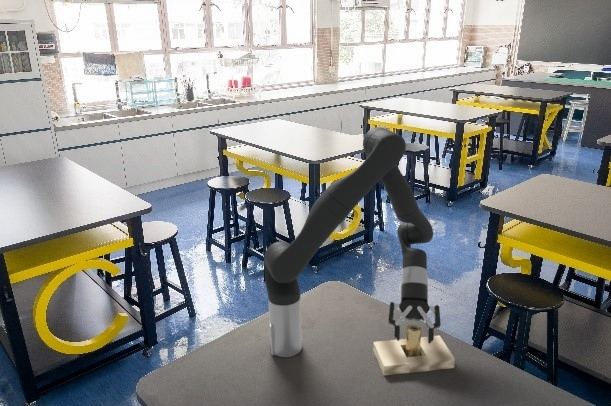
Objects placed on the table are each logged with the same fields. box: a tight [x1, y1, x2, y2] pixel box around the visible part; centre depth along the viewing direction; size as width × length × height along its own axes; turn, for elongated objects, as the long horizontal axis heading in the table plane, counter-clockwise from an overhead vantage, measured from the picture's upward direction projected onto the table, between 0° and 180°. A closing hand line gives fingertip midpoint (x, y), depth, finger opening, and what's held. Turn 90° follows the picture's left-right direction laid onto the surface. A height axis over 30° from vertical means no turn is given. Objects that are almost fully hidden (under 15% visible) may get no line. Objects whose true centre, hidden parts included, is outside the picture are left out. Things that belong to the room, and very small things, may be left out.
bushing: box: [405, 324, 422, 357], centre depth 137 cm, size 4×4×10 cm
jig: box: [372, 335, 456, 376], centre depth 138 cm, size 20×11×3 cm, turn 97°
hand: (413, 341), depth 135 cm, fingers open, 8 cm apart
